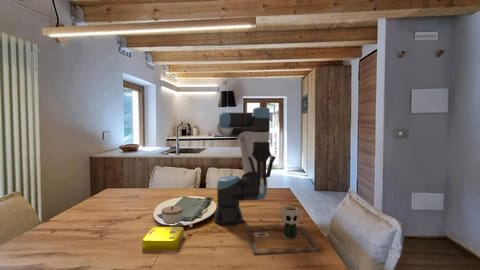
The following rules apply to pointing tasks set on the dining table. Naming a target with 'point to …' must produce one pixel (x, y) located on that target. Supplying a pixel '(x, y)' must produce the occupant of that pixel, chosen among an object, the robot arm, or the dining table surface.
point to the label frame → (314, 244)
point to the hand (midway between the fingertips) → (261, 192)
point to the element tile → (163, 238)
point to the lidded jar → (172, 214)
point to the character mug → (290, 220)
